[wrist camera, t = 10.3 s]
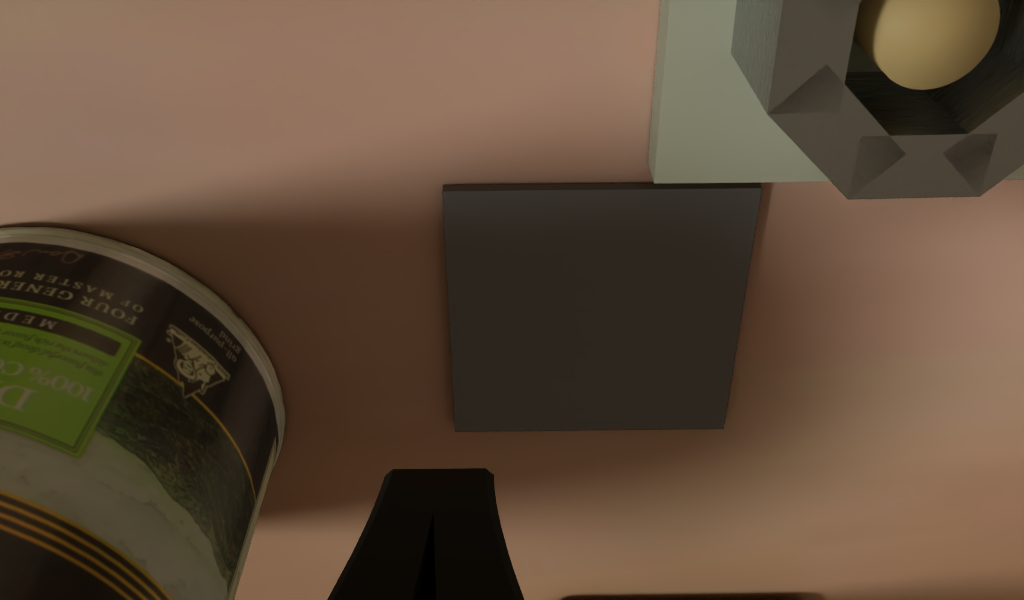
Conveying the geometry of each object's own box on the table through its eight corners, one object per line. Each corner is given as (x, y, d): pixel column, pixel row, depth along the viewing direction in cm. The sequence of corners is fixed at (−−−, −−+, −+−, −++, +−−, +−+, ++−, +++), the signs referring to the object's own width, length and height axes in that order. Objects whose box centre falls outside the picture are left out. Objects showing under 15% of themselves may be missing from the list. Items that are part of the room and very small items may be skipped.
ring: (998, 125, 19) (1072, 194, 17) (721, 131, 19) (754, 201, 17) (1086, -183, 16) (1194, -155, 13) (756, -175, 16) (803, -146, 14)
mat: (721, 421, 25) (723, 428, 25) (455, 424, 25) (455, 431, 25) (758, 181, 21) (762, 188, 21) (442, 185, 21) (442, 191, 21)
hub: (1012, 158, 21) (1096, 239, 18) (647, 162, 21) (671, 244, 18) (1148, -267, 16) (1290, -252, 13) (682, -263, 16) (722, -248, 13)
